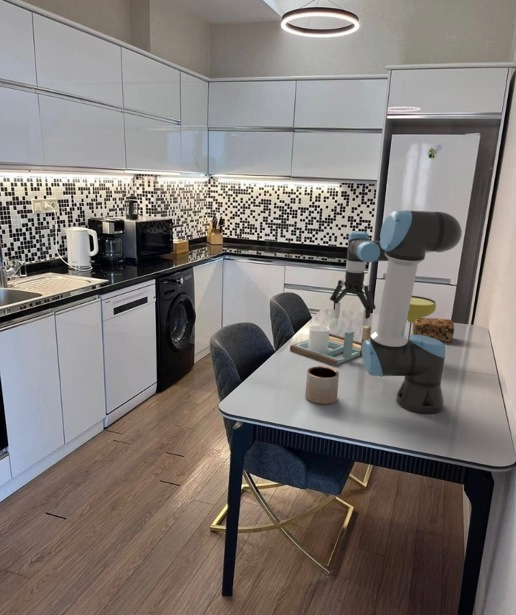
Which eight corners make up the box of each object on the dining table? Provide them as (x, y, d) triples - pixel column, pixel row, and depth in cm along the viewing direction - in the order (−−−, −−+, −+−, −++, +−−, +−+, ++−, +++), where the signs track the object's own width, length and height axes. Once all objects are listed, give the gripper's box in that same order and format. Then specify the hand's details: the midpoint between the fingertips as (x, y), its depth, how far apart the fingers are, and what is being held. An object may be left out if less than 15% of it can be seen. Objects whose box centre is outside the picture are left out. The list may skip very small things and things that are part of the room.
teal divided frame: (336, 364, 193) (339, 336, 190) (294, 350, 208) (296, 323, 205) (359, 355, 205) (362, 328, 202) (318, 342, 220) (320, 317, 217)
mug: (335, 350, 211) (337, 327, 208) (319, 356, 202) (321, 332, 199) (320, 345, 216) (321, 323, 213) (303, 351, 208) (305, 328, 205)
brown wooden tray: (335, 366, 192) (335, 361, 191) (289, 350, 208) (290, 345, 207) (372, 350, 212) (373, 346, 212) (328, 337, 228) (329, 333, 228)
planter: (329, 408, 155) (331, 381, 153) (299, 399, 161) (301, 373, 158) (341, 396, 164) (344, 371, 162) (313, 388, 170) (315, 363, 167)
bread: (450, 337, 237) (453, 318, 235) (452, 344, 227) (455, 324, 225) (411, 332, 242) (414, 314, 240) (411, 339, 232) (414, 319, 230)
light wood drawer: (362, 354, 206) (364, 328, 203) (320, 341, 221) (322, 317, 218) (370, 350, 211) (373, 325, 208) (329, 338, 226) (331, 314, 223)
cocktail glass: (404, 365, 197) (411, 306, 190) (377, 350, 212) (383, 296, 206) (437, 360, 204) (445, 303, 198) (408, 346, 220) (415, 294, 214)
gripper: (388, 275, 185) (381, 327, 190) (335, 265, 201) (330, 313, 207) (378, 277, 179) (372, 330, 185) (324, 267, 196) (320, 316, 201)
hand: (350, 321), depth 196 cm, fingers open, 13 cm apart
